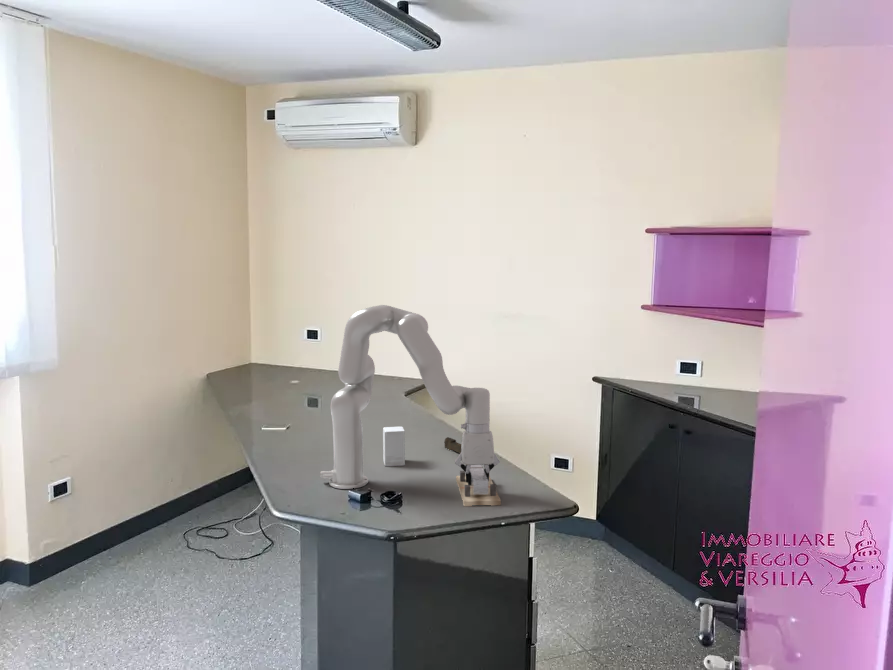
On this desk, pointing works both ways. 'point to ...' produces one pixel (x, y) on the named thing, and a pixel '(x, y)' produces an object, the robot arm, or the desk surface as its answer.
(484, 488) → the light grey long block
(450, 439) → the hand tool
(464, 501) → the board
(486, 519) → the desk surface
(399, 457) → the supplement box
